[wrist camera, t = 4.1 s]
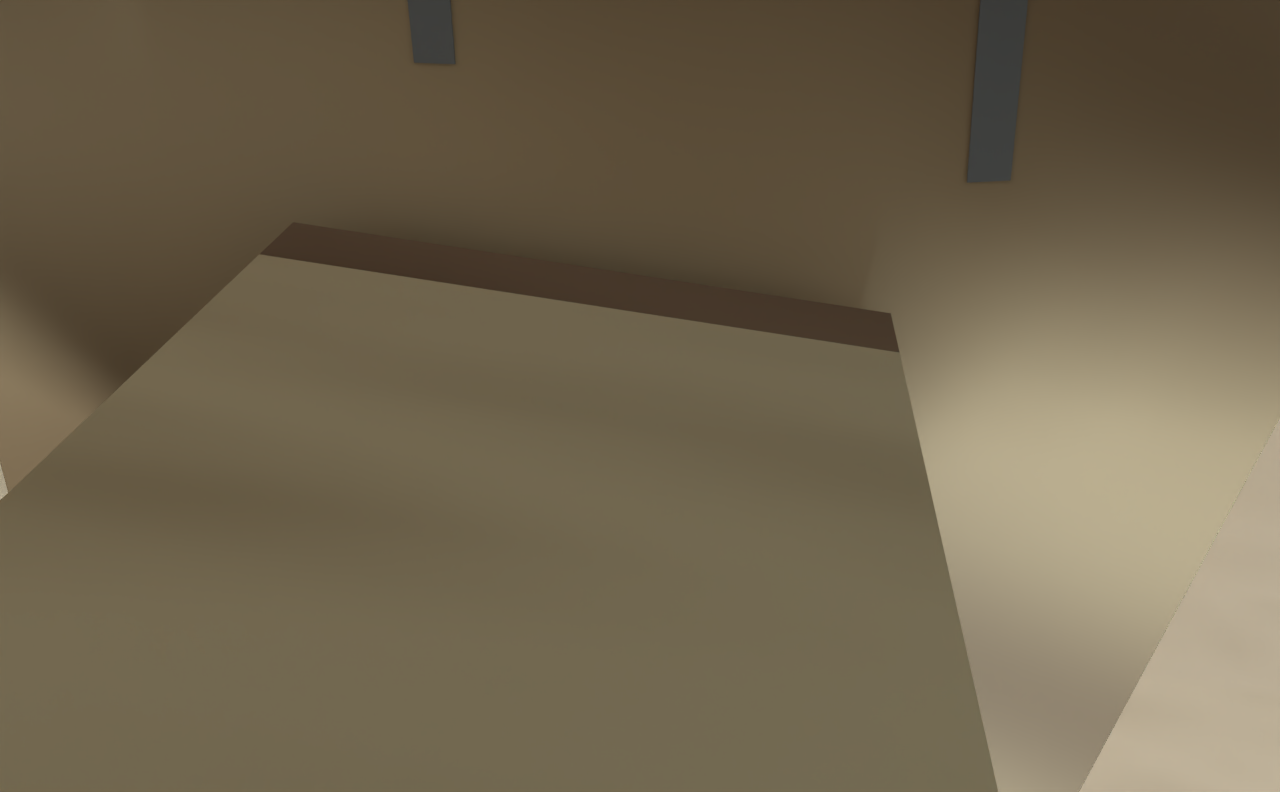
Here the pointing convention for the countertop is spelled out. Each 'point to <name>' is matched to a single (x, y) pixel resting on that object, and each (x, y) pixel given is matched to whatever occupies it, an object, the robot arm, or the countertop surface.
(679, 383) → the block
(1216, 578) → the countertop surface
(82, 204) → the board
